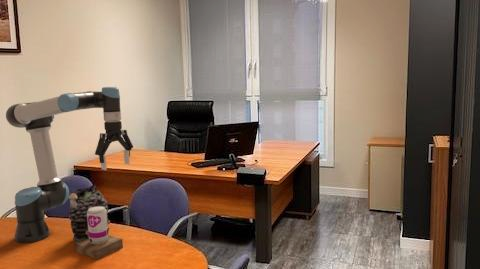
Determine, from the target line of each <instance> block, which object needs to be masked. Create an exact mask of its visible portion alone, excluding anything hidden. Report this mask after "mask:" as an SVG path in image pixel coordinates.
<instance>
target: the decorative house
mask: <svg viewBox="0 0 480 269" xmlns="http://www.w3.org/2000/svg"><path fill="white" fill-rule="evenodd" d="M96 187H97V186H96V185H95V184H92V185H91V186H90V187H87V188H84V189H83V188H82V189H81V188H79V189H77V190H76V193H75V192H72V193H70V194H69V197H68V199H69V204H70V206H69V211H68V215H69V216H68V218H69V221H70V227H71V230H72V234H73V242H74V243H75V244H76V243H79V242H81V241H84V240H86V239H89V232H88V220H87V212H88V209H89V208H91V207H96V206H103V207H105V209H106V210H107V223H108V225H110V224H111V220H109V218H108V216H109V215H108V212H109V211H108V210H109V206H108V201H107V199H106V198H105V196H104V195H103V194H102V193H101V192H100V191H99V190H97V189H96ZM109 231H110V227H109V226H108V232H109Z"/></svg>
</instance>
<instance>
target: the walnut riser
mask: <svg viewBox="0 0 480 269" xmlns="http://www.w3.org/2000/svg"><path fill="white" fill-rule="evenodd" d="M108 237H109V239H108V240H107V242H105V243H102V244H91V243H90V242H89V239H86V240H84V241H81V242H79V243H76V242H75V252H76V253H77V254H80V255H83V256H87V257H89V258H93V259H95V260H99V259H101V258H104V257H106V256H108V255H110V254H112V253H114V252H116V251H118V250H120V249H122V248H124V244H123V243H124V242H123V238H120V237H118V236H113V235H109V234H108Z"/></svg>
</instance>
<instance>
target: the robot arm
mask: <svg viewBox="0 0 480 269" xmlns="http://www.w3.org/2000/svg"><path fill="white" fill-rule="evenodd" d="M120 98H121V96H120V89H119V87H117V86H105V87H104V86H103V87H102V88H101V91H91V90H90V91H83V92H67V93H62V94H60V95H59V96H55V97H51V98H47V99H43V100H40V101H39V100H38V101H32V102H23V103H16V104H13V105H10V106H9V107H8V108H7V110H6V112H5V119H6V120H7V123H8V124H9V125H11V126H12V127H15V128H18V129H21V128H25V131H26V133H28V134H29V135H30V136H29V137H30V140H31V145H32V150H33V155H34V160H35V166H36V170H37V174H38V180H39V181H38V182H37V183H36V186H30V187H26V188H23V189H21V190H19V191H18V192H16V194H15V196H14V205H15V213H16V214H15V215H16V227H15V228H16V229H15V233H14V241H15V242H16V243H21V244H22V243H24V244H25V243H33V242H38V241H41V240H44V239H46V238H47V237H49V235H50V228H49V226H48V224H47V223H46V220H45V214H44V213H45V212H47V211H49V210H53V209H54V208H58V207H60V206H62V205H64V204H65V203H66V202H67V201H68V199H69V196H70V190H69V187H68V185H67V184H66V183H65V182H63V181H62V179H61V177H59V176H58V172H57V167H56V166H57V165H56V161H55V157H54V151H53V146H52V142H51V136H50V129H52V123H53V121H54V119H55V116H56V115H60V114H64V113H69V112H74V111H80V110H88V109H103V110H102V111H103V112H102V113H103V121H104V123H103V125H104V130H105V133H99V138H98V139H99V140H98V143H97V145H96V149H95V151H94V155H95V156H98V159H99V163H100V166H101V167H100V168H101V170H102V171H107V170H108V167H107V156H106V155H105V154H106V152H107V150H108V149H109V147H110V146H111V144H112V143H114V142H118V143H119V144H120V145H121V146H122V148H123V149H124V150H123V160H124V164H125V165H130V164H131V161H130V157H131V151H132V149H133V148H134V145H133V143H132V141H131V139H130V137H129V135H128V131H127V129H122V128H123V127H122V125H123V124H122V121H121V120H122V113H121V99H120Z"/></svg>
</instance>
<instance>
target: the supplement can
mask: <svg viewBox="0 0 480 269" xmlns="http://www.w3.org/2000/svg"><path fill="white" fill-rule="evenodd" d="M107 215H108V213H107V210H106V209H105V207H103V206H96V207H91V208H89V209H88V212H87V220H88V232H89V242H90V243H91V244H102V243H105V242H107V240H108V239H109V237H108V235H109V231H108V227H109V224H108V223H107V218H108V217H107Z"/></svg>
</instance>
